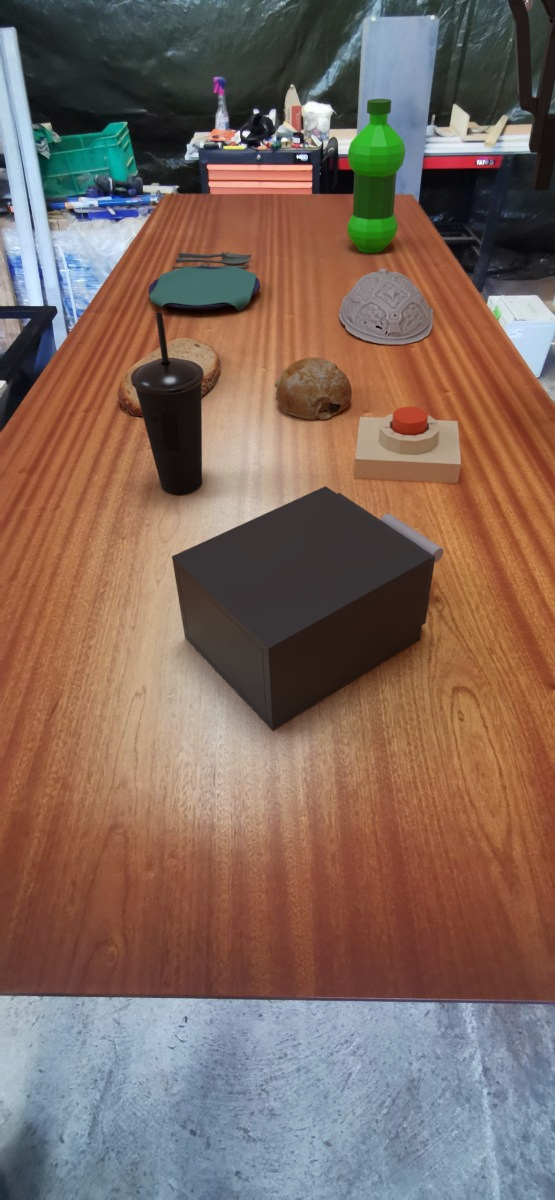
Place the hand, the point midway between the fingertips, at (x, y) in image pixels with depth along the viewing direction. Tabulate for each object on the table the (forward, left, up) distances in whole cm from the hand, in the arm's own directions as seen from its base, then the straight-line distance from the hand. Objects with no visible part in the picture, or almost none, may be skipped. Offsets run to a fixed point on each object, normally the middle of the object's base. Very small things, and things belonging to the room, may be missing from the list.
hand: (540, 186), depth 80 cm
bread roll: (+25, +1, -27) cm, 37 cm away
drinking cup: (+38, +22, -27) cm, 51 cm away
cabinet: (+21, +46, -26) cm, 57 cm away
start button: (+12, +14, -22) cm, 29 cm away
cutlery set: (+49, -43, -27) cm, 70 cm away
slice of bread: (+46, -4, -27) cm, 53 cm away
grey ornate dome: (+16, -31, -27) cm, 44 cm away
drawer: (+18, +43, -26) cm, 53 cm away
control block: (+12, +14, -26) cm, 32 cm away
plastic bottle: (+20, -66, -27) cm, 74 cm away
